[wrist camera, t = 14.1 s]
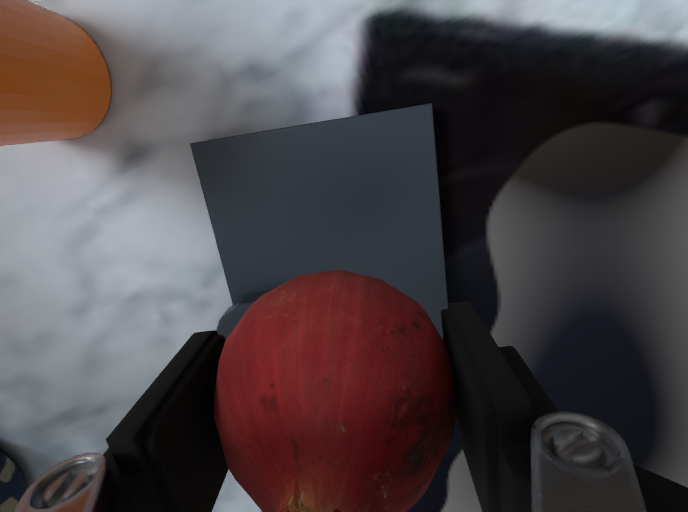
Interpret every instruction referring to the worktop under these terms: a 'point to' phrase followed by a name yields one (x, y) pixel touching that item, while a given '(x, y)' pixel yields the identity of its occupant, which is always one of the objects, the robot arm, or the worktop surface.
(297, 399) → the onion
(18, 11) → the shaker bottle
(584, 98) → the worktop surface
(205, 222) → the worktop surface
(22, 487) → the canister
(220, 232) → the scale
